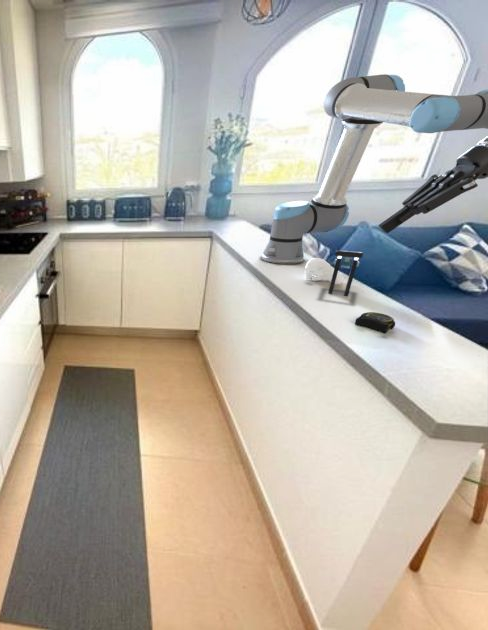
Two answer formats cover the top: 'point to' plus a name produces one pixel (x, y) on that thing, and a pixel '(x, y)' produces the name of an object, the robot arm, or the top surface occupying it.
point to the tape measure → (375, 321)
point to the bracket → (353, 268)
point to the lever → (348, 257)
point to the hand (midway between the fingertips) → (382, 229)
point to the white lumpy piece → (321, 271)
